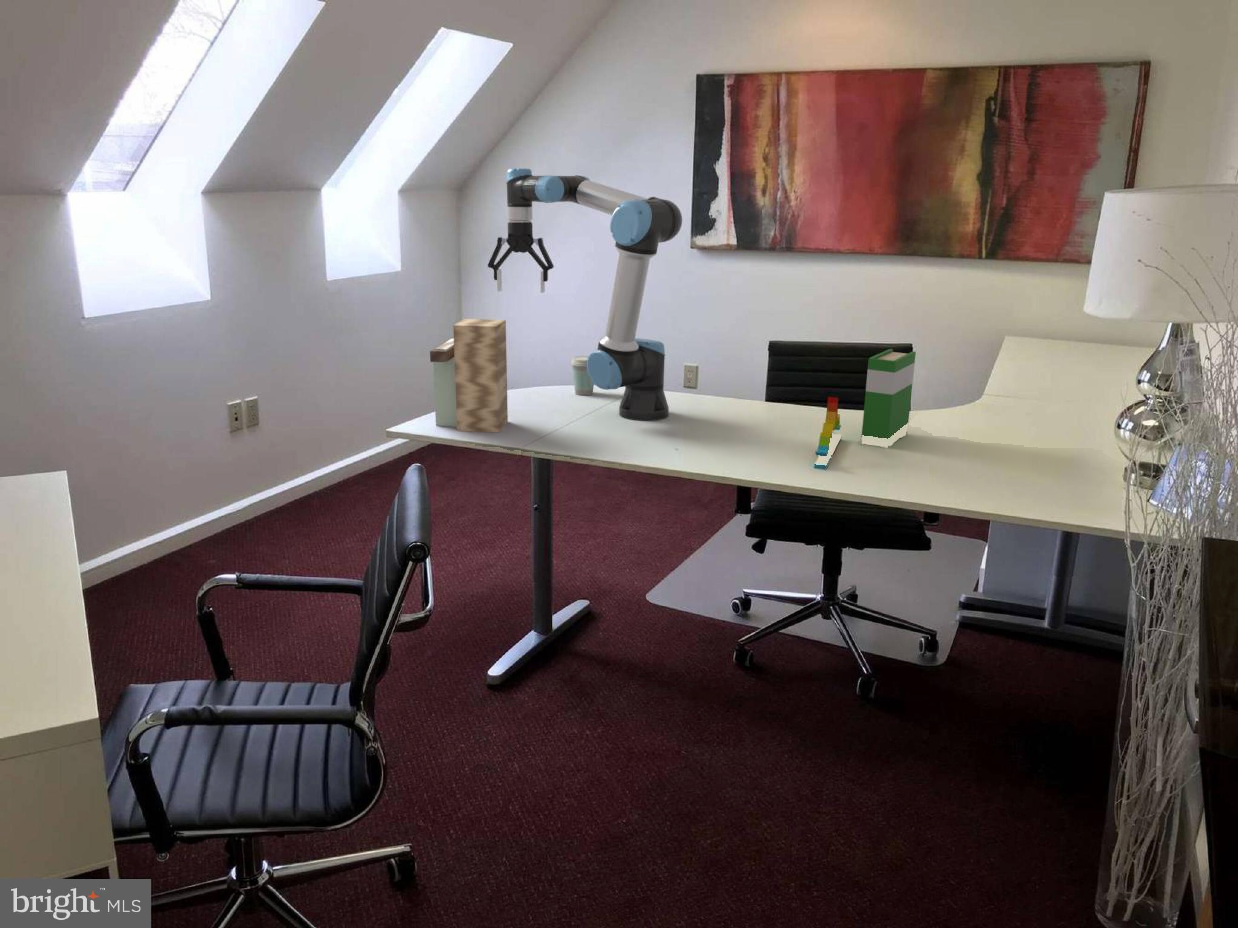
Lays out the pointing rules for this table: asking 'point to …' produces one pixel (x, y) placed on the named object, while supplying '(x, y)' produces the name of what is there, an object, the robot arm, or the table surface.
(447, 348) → the domino case
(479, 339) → the oak stand
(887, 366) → the hardback book
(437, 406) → the green pedestal
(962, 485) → the table surface
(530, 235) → the robot arm
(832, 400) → the chart
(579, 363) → the coffee cup
